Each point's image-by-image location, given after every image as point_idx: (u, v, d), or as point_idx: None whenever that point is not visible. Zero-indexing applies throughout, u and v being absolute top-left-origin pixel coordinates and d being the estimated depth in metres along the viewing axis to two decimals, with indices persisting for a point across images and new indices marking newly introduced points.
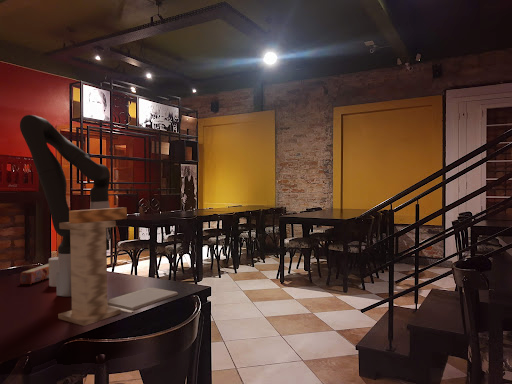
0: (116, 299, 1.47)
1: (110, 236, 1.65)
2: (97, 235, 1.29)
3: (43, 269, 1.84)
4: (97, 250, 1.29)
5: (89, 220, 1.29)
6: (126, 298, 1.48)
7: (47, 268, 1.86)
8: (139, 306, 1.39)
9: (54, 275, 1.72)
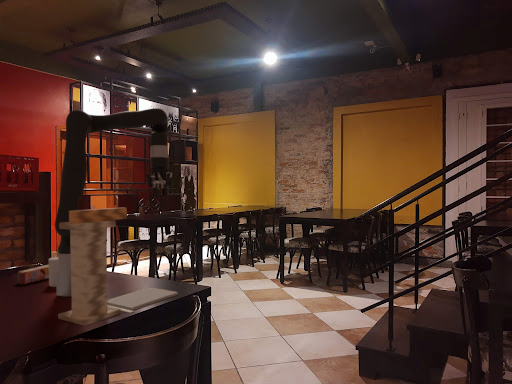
0: (116, 299, 1.47)
1: None
2: (97, 235, 1.29)
3: (41, 269, 1.83)
4: (97, 250, 1.29)
5: (89, 220, 1.29)
6: (126, 298, 1.48)
7: (46, 268, 1.86)
8: (139, 306, 1.39)
9: (54, 275, 1.72)
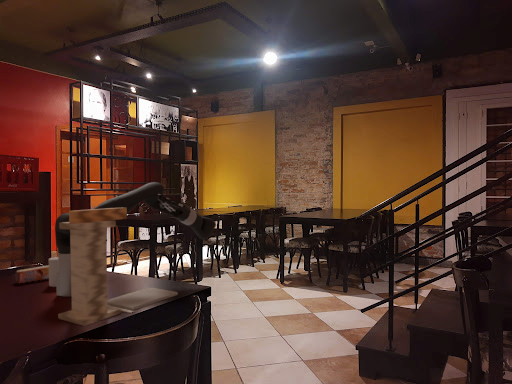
0: (116, 299, 1.47)
1: (162, 204, 1.64)
2: (97, 235, 1.29)
3: (38, 270, 1.83)
4: (97, 250, 1.29)
5: (89, 220, 1.29)
6: (126, 298, 1.48)
7: (44, 269, 1.85)
8: (139, 306, 1.39)
9: (54, 275, 1.72)
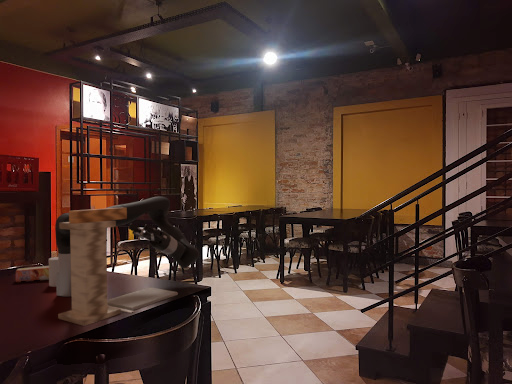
0: (116, 299, 1.47)
1: (135, 234, 1.55)
2: (97, 235, 1.29)
3: (34, 270, 1.83)
4: (97, 250, 1.29)
5: (89, 220, 1.29)
6: (126, 298, 1.48)
7: (41, 269, 1.83)
8: (139, 306, 1.39)
9: (54, 275, 1.72)
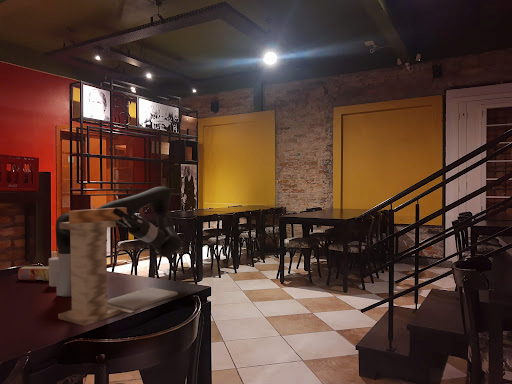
0: (116, 299, 1.47)
1: None
2: (97, 235, 1.29)
3: (32, 269, 1.83)
4: (97, 250, 1.29)
5: (88, 220, 1.29)
6: (126, 298, 1.48)
7: (37, 270, 1.83)
8: (139, 306, 1.39)
9: (54, 275, 1.72)
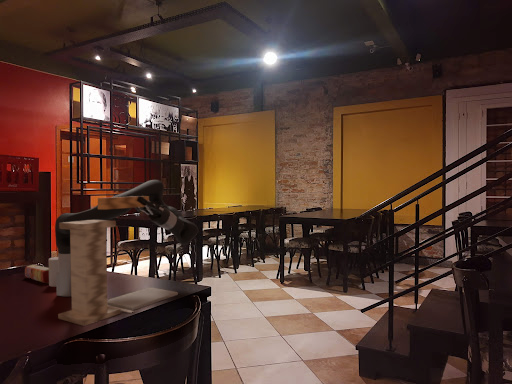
0: (116, 299, 1.47)
1: (136, 207, 1.53)
2: (97, 235, 1.29)
3: (32, 269, 1.85)
4: (97, 250, 1.29)
5: (115, 207, 1.38)
6: (126, 298, 1.48)
7: (34, 270, 1.83)
8: (139, 306, 1.39)
9: (54, 275, 1.72)
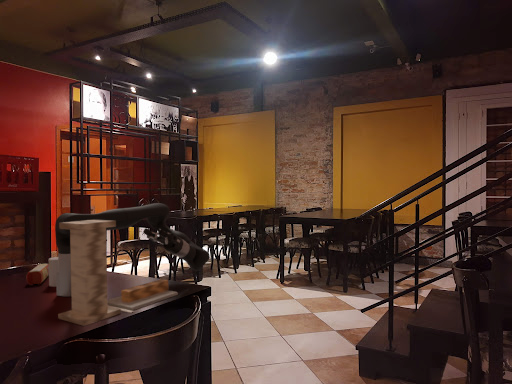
0: (116, 299, 1.47)
1: (149, 238, 1.62)
2: (97, 235, 1.29)
3: None
4: (97, 250, 1.29)
5: (138, 297, 1.46)
6: None
7: None
8: (139, 306, 1.39)
9: (54, 275, 1.72)
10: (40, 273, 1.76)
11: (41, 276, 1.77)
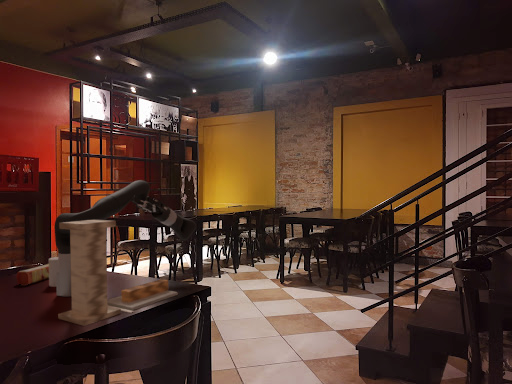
0: (116, 299, 1.47)
1: (138, 206, 1.71)
2: (97, 235, 1.29)
3: None
4: (97, 250, 1.29)
5: (138, 297, 1.46)
6: None
7: None
8: (139, 306, 1.39)
9: (54, 275, 1.72)
10: (27, 274, 1.75)
11: (28, 277, 1.75)
